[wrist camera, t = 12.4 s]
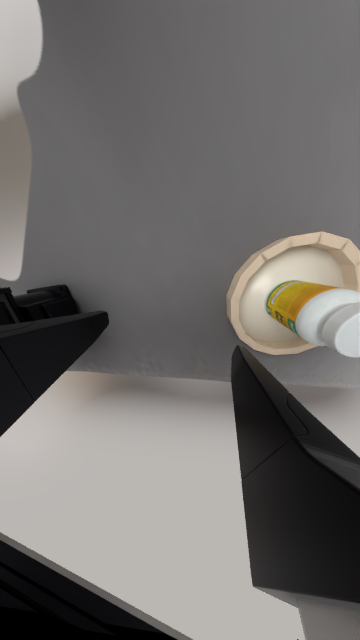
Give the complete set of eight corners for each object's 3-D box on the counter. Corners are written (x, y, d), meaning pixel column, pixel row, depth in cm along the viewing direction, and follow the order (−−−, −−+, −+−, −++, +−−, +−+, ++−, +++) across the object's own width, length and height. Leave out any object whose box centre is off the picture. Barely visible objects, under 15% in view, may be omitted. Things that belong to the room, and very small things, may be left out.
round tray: (227, 348, 23) (231, 357, 21) (225, 248, 17) (230, 246, 15) (328, 341, 21) (344, 350, 19) (363, 225, 15) (391, 219, 13)
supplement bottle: (316, 294, 18) (437, 325, 9) (283, 325, 20) (355, 376, 11) (285, 270, 17) (385, 280, 8) (254, 305, 19) (307, 343, 10)
